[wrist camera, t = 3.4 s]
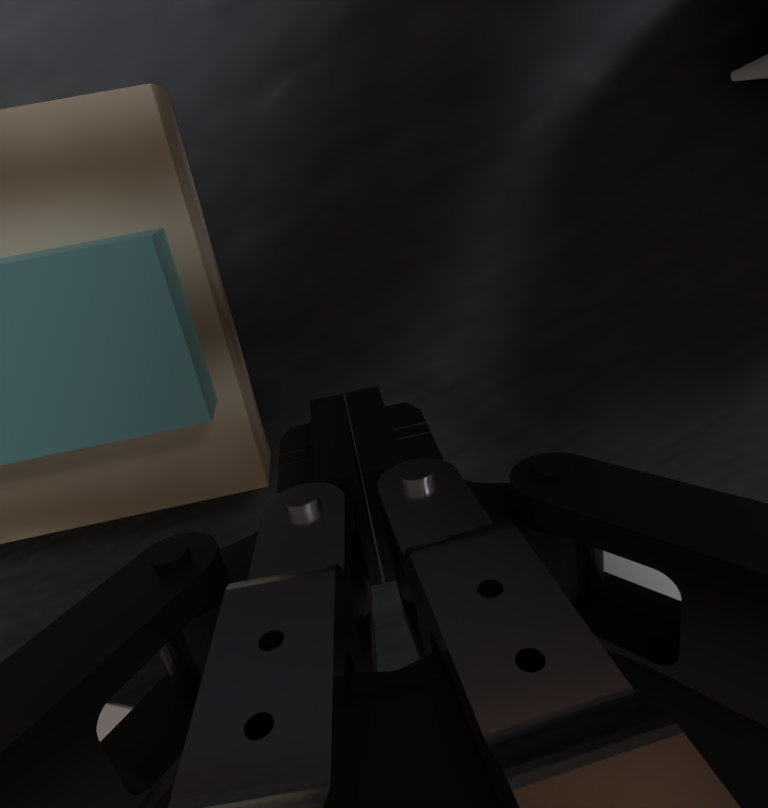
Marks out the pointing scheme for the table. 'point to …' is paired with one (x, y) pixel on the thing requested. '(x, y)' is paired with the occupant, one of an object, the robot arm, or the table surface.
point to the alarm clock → (752, 70)
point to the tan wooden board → (199, 275)
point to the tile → (96, 347)
